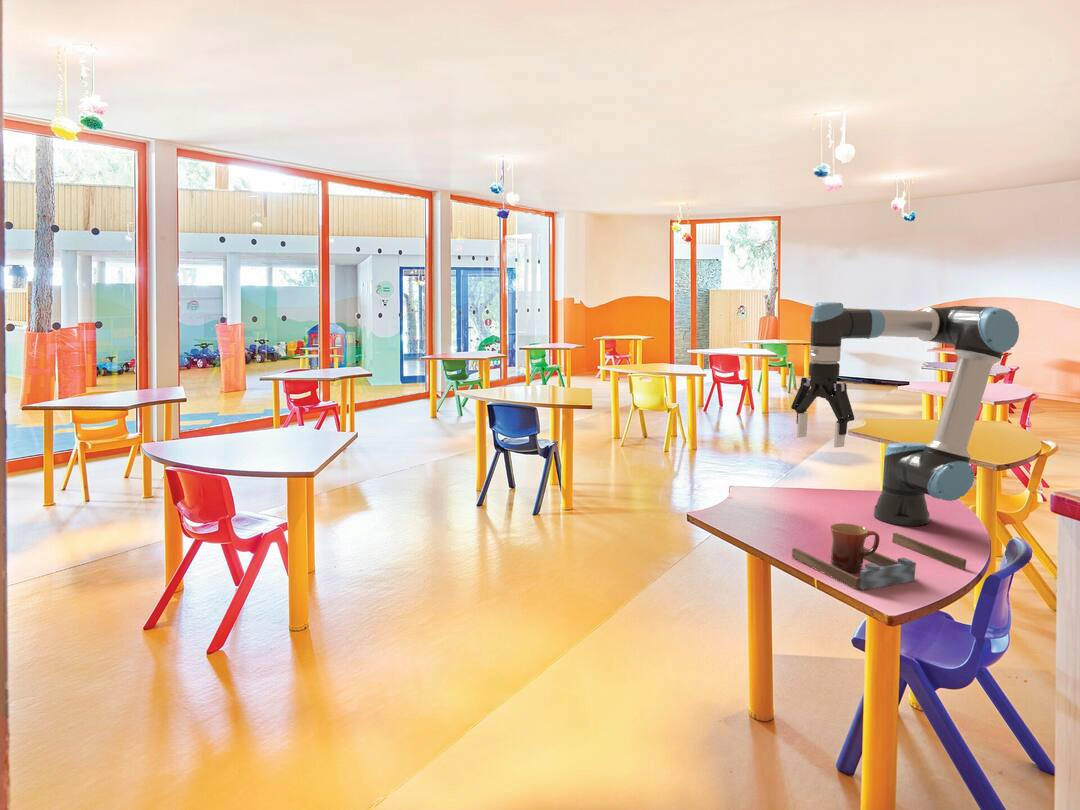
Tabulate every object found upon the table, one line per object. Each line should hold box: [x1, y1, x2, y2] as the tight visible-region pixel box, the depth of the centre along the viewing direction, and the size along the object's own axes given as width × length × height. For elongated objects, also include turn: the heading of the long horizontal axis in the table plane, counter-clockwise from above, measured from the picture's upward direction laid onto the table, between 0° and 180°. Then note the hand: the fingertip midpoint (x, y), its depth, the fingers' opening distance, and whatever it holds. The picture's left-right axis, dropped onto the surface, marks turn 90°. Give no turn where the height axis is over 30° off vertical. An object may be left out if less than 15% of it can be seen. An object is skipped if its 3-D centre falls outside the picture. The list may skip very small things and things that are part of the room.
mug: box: [829, 523, 880, 574], centre depth 193 cm, size 12×9×10 cm
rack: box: [791, 532, 967, 591], centre depth 196 cm, size 35×24×6 cm
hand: (819, 441), depth 207 cm, fingers open, 13 cm apart
